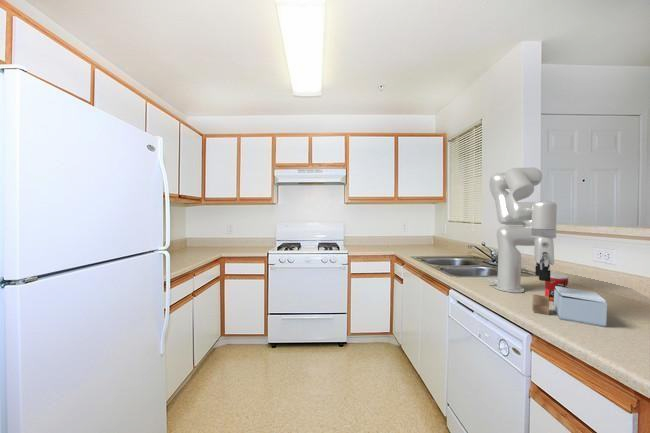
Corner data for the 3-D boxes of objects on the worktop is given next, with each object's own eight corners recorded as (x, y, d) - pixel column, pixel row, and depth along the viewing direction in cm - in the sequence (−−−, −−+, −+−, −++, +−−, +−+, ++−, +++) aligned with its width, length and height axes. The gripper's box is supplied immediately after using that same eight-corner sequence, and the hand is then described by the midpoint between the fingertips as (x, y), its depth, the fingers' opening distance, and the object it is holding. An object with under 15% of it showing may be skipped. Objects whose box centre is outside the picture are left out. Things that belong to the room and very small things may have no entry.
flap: (561, 295, 98) (561, 293, 98) (555, 287, 108) (555, 285, 108) (605, 303, 92) (606, 300, 92) (595, 294, 102) (595, 292, 102)
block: (533, 312, 104) (534, 297, 104) (532, 309, 108) (532, 294, 108) (548, 315, 102) (549, 299, 102) (546, 311, 106) (547, 296, 106)
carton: (559, 319, 98) (560, 297, 98) (553, 309, 109) (554, 289, 108) (606, 327, 92) (607, 303, 92) (594, 315, 102) (595, 294, 102)
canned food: (549, 301, 117) (550, 276, 117) (541, 296, 125) (542, 272, 124) (571, 304, 115) (572, 278, 114) (562, 298, 122) (563, 274, 122)
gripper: (561, 235, 95) (559, 284, 95) (551, 233, 110) (550, 275, 110) (534, 234, 99) (533, 281, 99) (528, 232, 114) (527, 273, 114)
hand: (542, 278), depth 104 cm, fingers open, 9 cm apart
